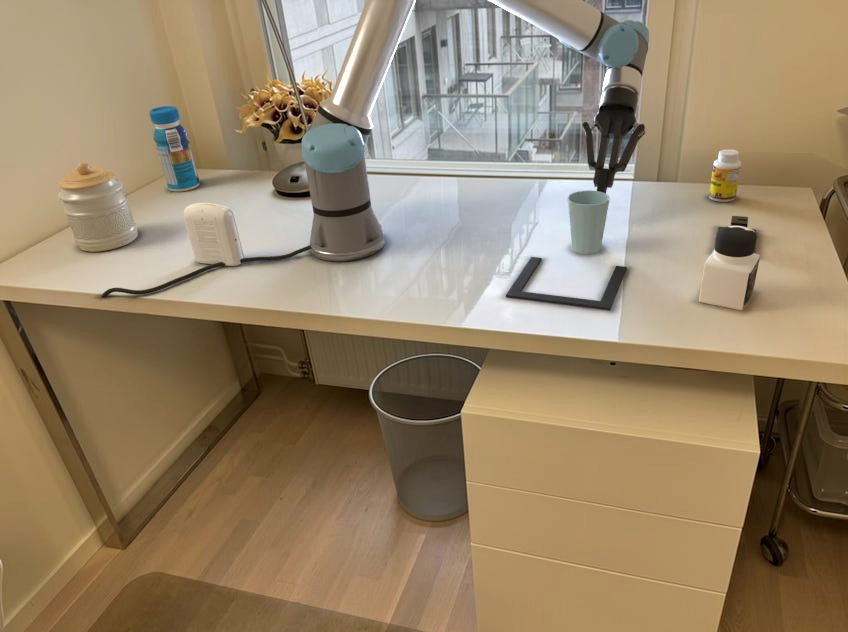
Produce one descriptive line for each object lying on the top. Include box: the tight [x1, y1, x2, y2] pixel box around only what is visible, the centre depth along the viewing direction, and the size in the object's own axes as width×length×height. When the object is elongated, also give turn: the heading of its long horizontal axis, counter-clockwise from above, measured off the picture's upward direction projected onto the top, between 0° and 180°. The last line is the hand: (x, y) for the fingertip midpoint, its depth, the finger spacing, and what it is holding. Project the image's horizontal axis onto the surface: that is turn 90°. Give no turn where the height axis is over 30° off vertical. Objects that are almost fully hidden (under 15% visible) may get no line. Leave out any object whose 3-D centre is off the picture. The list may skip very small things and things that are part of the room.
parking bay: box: [505, 256, 628, 311], centre depth 124 cm, size 16×18×1 cm
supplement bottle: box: [708, 148, 742, 203], centre depth 150 cm, size 6×6×10 cm
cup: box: [567, 190, 611, 255], centre depth 133 cm, size 8×8×10 cm
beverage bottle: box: [148, 105, 201, 193], centre depth 179 cm, size 8×8×20 cm
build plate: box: [717, 215, 757, 254], centre depth 133 cm, size 12×7×5 cm, turn 159°
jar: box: [57, 161, 139, 253], centre depth 151 cm, size 13×13×18 cm
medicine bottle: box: [698, 225, 761, 311], centre depth 113 cm, size 7×7×12 cm
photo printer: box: [183, 202, 245, 267], centre depth 139 cm, size 10×4×12 cm, turn 73°
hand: (599, 201), depth 141 cm, fingers closed
